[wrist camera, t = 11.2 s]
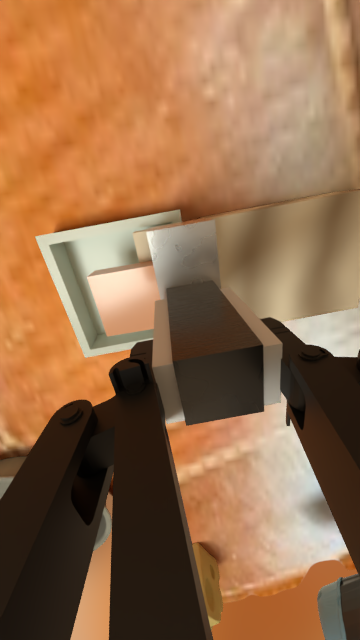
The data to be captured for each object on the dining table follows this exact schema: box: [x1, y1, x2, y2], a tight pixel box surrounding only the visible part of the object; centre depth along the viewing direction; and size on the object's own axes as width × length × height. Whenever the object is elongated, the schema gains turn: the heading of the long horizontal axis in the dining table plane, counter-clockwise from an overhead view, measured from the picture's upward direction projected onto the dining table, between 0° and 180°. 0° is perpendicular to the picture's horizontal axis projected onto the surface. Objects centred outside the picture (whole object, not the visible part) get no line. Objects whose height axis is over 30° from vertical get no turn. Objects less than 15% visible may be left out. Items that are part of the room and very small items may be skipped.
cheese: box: [192, 542, 223, 630], centre depth 47 cm, size 10×11×10 cm
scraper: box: [146, 218, 264, 426], centre depth 14 cm, size 4×10×12 cm, turn 9°
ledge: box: [132, 189, 360, 322], centre depth 22 cm, size 19×10×6 cm, turn 100°
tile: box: [87, 261, 161, 337], centre depth 19 cm, size 5×5×2 cm
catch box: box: [35, 209, 182, 358], centre depth 23 cm, size 12×12×4 cm
